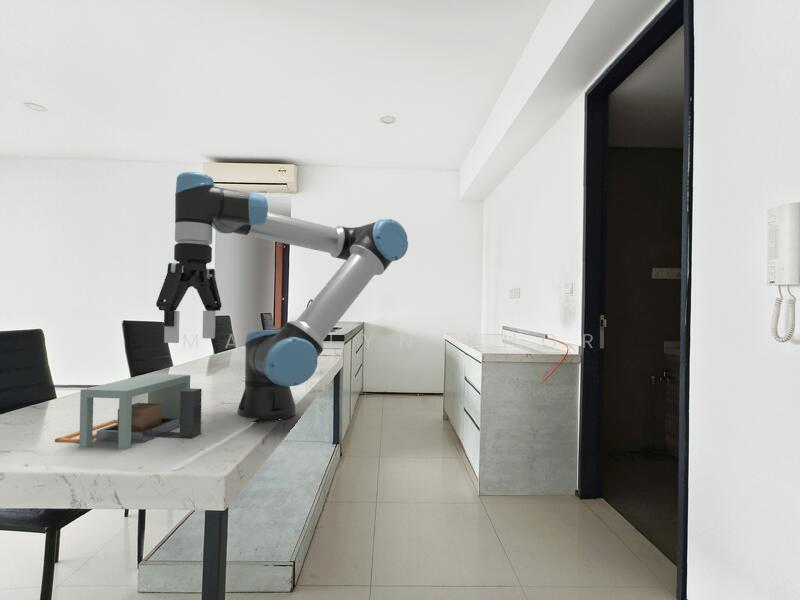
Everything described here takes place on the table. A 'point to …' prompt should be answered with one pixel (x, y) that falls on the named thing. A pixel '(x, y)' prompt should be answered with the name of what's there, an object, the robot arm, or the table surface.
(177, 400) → the tunnel
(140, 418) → the walnut block
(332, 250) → the robot arm
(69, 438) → the orange rails
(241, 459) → the table surface
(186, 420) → the slider
